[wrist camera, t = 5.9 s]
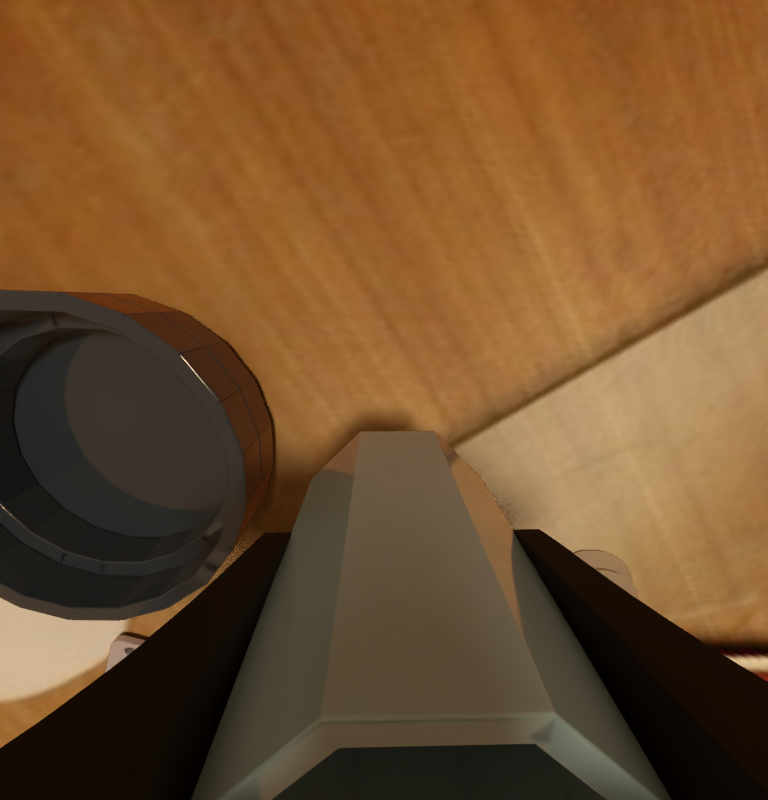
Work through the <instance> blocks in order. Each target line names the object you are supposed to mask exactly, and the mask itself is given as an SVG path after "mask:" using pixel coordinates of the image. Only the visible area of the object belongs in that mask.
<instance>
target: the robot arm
mask: <svg viewBox="0 0 768 800" xmlns="http://www.w3.org/2000/svg"><path fill="white" fill-rule="evenodd" d="M513 531H514V533H515V535H516V537H517V538H518V540H519V542H520V543H521V545H522V547H523V549H524V550H525V552H526V554H527V555H528V557H529V559H530V560H531V562H532V564H533V565H534V567H535V568H536V570H537V572H538V573H539V575H540V577H541V579H542V580H543V582H544V584H545V585H546V587H547V589H548V590H549V592H550V594H551V596H552V597H553V599H554V601H555V602H556V604H557V606H558V607H559V609H560V611H561V612H562V614H563V616H564V618H565V619H566V621H567V623H568V624H569V626H570V628H571V629H572V631H573V633H574V634H575V636H576V638H577V640H578V641H579V643H580V645H581V646H582V648H583V650H584V651H585V653H586V655H587V657H588V658H589V660H590V662H591V663H592V665H593V667H594V668H595V670H596V672H597V673H598V675H599V677H600V679H601V680H602V682H603V684H604V685H605V687H606V689H607V690H608V692H609V694H610V695H611V697H612V699H613V701H614V702H615V704H616V706H617V707H618V709H619V711H620V712H621V714H622V716H623V718H624V719H625V721H626V723H627V724H628V726H629V728H630V729H631V731H632V733H633V734H634V736H635V738H636V740H637V741H638V743H639V745H640V746H641V748H642V750H643V751H644V753H645V755H646V756H647V758H648V760H649V762H650V763H651V765H652V767H653V768H654V770H655V772H656V773H657V775H658V777H659V779H660V780H661V782H662V784H663V785H664V787H665V789H666V790H667V792H668V794H669V795H670V797H671V799H672V800H768V682H767V681H766V680H764V679H762V678H761V677H759V676H757V675H755V674H754V673H752V672H750V671H749V670H747V669H745V668H743V667H742V666H740V665H738V664H737V663H735V662H734V661H732V660H730V659H729V658H727V657H725V656H724V655H722V654H721V653H719V652H717V651H716V650H714V649H712V648H711V647H709V646H708V645H706V644H705V643H703V642H702V641H700V640H698V639H697V638H695V637H694V636H692V635H691V634H689V633H688V632H686V631H685V630H683V629H682V628H680V627H678V626H677V625H675V624H674V623H672V622H671V621H669V620H668V619H666V618H665V617H663V616H662V615H660V614H659V613H657V612H656V611H654V610H653V609H651V608H650V607H648V606H647V605H645V604H644V603H642V602H641V601H640V600H638V599H637V598H635V597H634V596H632V595H631V594H629V593H628V592H627V591H625V590H624V589H622V588H621V587H620V586H618V585H617V584H615V583H614V582H612V581H611V580H610V579H608V578H607V577H605V576H604V575H603V574H601V573H600V572H598V571H597V570H596V569H594V568H593V567H592V566H590V565H589V564H587V563H586V562H585V561H583V560H582V559H581V558H579V557H578V556H576V555H575V554H574V553H572V552H571V551H570V550H568V549H567V548H565V547H564V546H563V545H561V544H560V543H558V542H557V541H556V540H554V539H553V538H551V537H550V536H548V535H547V534H545V533H544V532H542V531H541V530H539V529H522V530H513ZM291 533H292V532H285V533H264V534H263V535H262V536H261V537H260V538H259V539H258V540H257V541H256V542H255V543H254V544H253V545H251V546H250V547H249V548H248V549H247V550H246V551H245V552H244V553H243V554H242V555H241V556H240V557H239V558H238V559H237V560H236V561H235V562H233V563H232V564H231V565H230V566H229V567H228V568H227V569H226V570H225V571H224V572H223V573H222V574H221V575H220V576H219V577H218V578H217V579H215V580H214V581H213V582H212V583H211V584H210V585H209V586H208V587H207V588H206V589H204V590H203V591H202V592H201V593H200V594H199V595H198V596H197V597H196V598H195V599H194V600H192V601H191V602H190V603H189V604H188V605H187V606H186V607H184V608H183V609H182V610H181V611H180V612H179V613H177V614H176V615H175V616H174V617H173V618H172V619H170V620H169V621H168V622H167V623H166V624H164V625H163V626H162V627H161V628H160V629H159V630H157V631H156V632H155V633H154V634H153V635H151V636H150V637H149V638H148V639H147V640H142V639H138V638H135V637H131V636H127V635H121V636H118V637H117V638H116V639H115V640H114V641H113V643H112V644H111V647H110V652H109V656H108V661H107V666H106V670H105V673H104V674H103V675H102V676H101V677H99V678H98V679H97V680H95V681H94V682H93V683H91V684H90V685H89V686H87V687H86V688H84V689H83V690H82V691H80V692H79V693H78V694H76V695H75V696H74V697H72V698H71V699H70V700H68V701H67V702H66V703H64V704H63V705H62V706H60V707H59V708H58V709H56V710H55V711H53V712H52V713H51V714H49V715H48V716H47V717H45V718H44V719H42V720H41V721H40V722H38V723H37V724H35V725H34V726H32V727H31V728H29V729H28V730H27V731H25V732H24V733H22V734H21V735H19V736H18V737H16V738H15V739H13V740H12V741H10V742H9V743H7V744H6V745H4V746H3V747H2V748H0V800H191V798H192V795H193V793H194V790H195V787H196V785H197V782H198V780H199V777H200V774H201V772H202V769H203V766H204V764H205V761H206V758H207V756H208V753H209V750H210V748H211V745H212V742H213V740H214V737H215V734H216V732H217V729H218V726H219V724H220V721H221V718H222V716H223V713H224V710H225V708H226V705H227V702H228V700H229V697H230V695H231V692H232V689H233V687H234V684H235V681H236V679H237V676H238V673H239V671H240V668H241V665H242V663H243V660H244V657H245V655H246V652H247V649H248V647H249V644H250V641H251V639H252V636H253V633H254V631H255V628H256V625H257V623H258V620H259V618H260V615H261V612H262V610H263V607H264V604H265V602H266V599H267V596H268V594H269V591H270V588H271V586H272V583H273V580H274V578H275V575H276V572H277V570H278V568H279V566H280V564H281V561H282V558H283V556H284V553H285V550H286V548H287V545H288V542H289V540H290V537H291Z"/></svg>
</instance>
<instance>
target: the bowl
mask: <svg viewBox="0 0 768 800" xmlns="http://www.w3.org/2000/svg"><path fill="white" fill-rule="evenodd" d="M272 467H273V446H272V426H271V420H270V417H269V415H268V412H267V409H266V407H265V404H264V402H263V399H262V397H261V394H260V391H259V389H258V386H257V384H256V381H254V378H253V377H252V376H251V374H250V373H249V372H248V371H247V369H246V368H245V367H244V365H243V364H242V363H241V362H240V360H239V359H238V358H237V357H236V355H235V354H234V353H233V352H232V350H231V349H230V348H229V346H228V345H227V344H226V343H225V342H224V341H223V340H222V339H220V338H219V337H217V336H216V335H215V334H213V333H212V332H210V331H209V330H208V329H206V328H205V327H203V326H202V325H201V324H199V323H198V322H196V321H195V320H194V319H192V318H191V317H189V316H188V315H187V314H185V313H184V312H182V311H180V310H177V309H174V308H171V307H168V306H165V305H163V304H160V303H157V302H154V301H151V300H148V299H145V298H143V297H140V296H137V295H133V294H111V293H82V292H53V291H23V290H0V598H2V599H4V600H6V601H8V602H10V603H12V604H14V605H16V606H18V607H21V608H24V609H28V610H32V611H36V612H40V613H44V614H48V615H52V616H56V617H60V618H63V619H67V620H70V619H71V620H118V621H119V620H125V619H129V618H133V617H137V616H141V615H144V614H148V613H152V612H156V611H160V610H164V609H166V608H169V607H171V606H172V605H174V604H175V603H177V602H179V601H180V600H182V599H183V598H185V597H187V596H188V595H190V594H191V593H193V592H195V591H196V590H198V589H199V588H201V587H203V586H204V585H206V584H207V583H208V582H209V580H210V579H211V578H212V577H213V575H214V574H215V573H216V571H217V570H218V569H219V568H220V566H221V565H222V564H223V562H224V561H225V560H226V559H227V557H228V556H229V555H230V553H231V552H232V551H233V550H234V548H235V546H236V544H237V543H238V541H239V539H240V538H241V536H242V534H243V532H244V531H245V529H246V527H247V526H248V524H249V522H250V520H251V519H252V517H253V515H254V514H255V512H256V510H257V508H258V507H259V505H260V503H261V501H262V500H263V496H264V493H265V490H266V487H267V483H268V480H269V477H270V474H271V471H272Z"/></svg>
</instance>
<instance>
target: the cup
mask: <svg viewBox="0 0 768 800" xmlns="http://www.w3.org/2000/svg"><path fill="white" fill-rule="evenodd" d="M191 800H672V799H671V797H670V795H669V794H668V792H667V790H666V789H665V787H664V785H663V784H662V782H661V780H660V779H659V777H658V775H657V773H656V772H655V770H654V768H653V767H652V765H651V763H650V762H649V760H648V758H647V756H646V755H645V753H644V751H643V750H642V748H641V746H640V745H639V743H638V741H637V740H636V738H635V736H634V734H633V733H632V731H631V729H630V728H629V726H628V724H627V723H626V721H625V719H624V718H623V716H622V714H621V712H620V711H619V709H618V707H617V706H616V704H615V702H614V701H613V699H612V697H611V695H610V694H609V692H608V690H607V689H606V687H605V685H604V684H603V682H602V680H601V679H600V677H599V675H598V673H597V672H596V670H595V668H594V667H593V665H592V663H591V662H590V660H589V658H588V657H587V655H586V653H585V651H584V650H583V648H582V646H581V645H580V643H579V641H578V640H577V638H576V636H575V634H574V633H573V631H572V629H571V628H570V626H569V624H568V623H567V621H566V619H565V618H564V616H563V614H562V612H561V611H560V609H559V607H558V606H557V604H556V602H555V601H554V599H553V597H552V596H551V594H550V592H549V590H548V589H547V587H546V585H545V584H544V582H543V580H542V579H541V577H540V575H539V573H538V572H537V570H536V568H535V567H534V565H533V564H532V562H531V560H530V559H529V557H528V555H527V554H526V552H525V550H524V549H523V547H522V545H521V543H520V542H519V540H518V538H517V537H516V535H515V533H514V531H513V529H512V528H511V526H510V524H509V523H508V521H507V519H506V518H505V516H504V514H503V512H502V511H501V509H500V507H499V506H498V504H497V502H496V501H495V499H494V497H493V496H492V494H491V492H490V490H489V489H488V487H487V485H486V484H485V482H484V480H483V479H482V477H481V476H480V475H479V474H478V473H477V472H476V471H475V470H474V469H473V468H472V467H471V466H470V465H469V464H468V463H467V462H465V461H464V460H463V459H462V458H461V457H460V456H459V455H458V454H457V453H456V452H455V451H454V450H453V449H452V448H451V447H450V446H449V445H448V444H447V443H446V442H445V441H444V440H443V439H442V438H441V437H440V436H439V435H438V434H437V433H435V432H434V431H362V432H359V433H358V434H357V435H356V436H355V437H354V438H353V439H352V440H351V441H350V442H349V443H348V444H347V445H346V446H345V447H344V448H343V449H342V450H341V451H340V452H339V453H338V454H337V455H336V456H335V457H334V458H333V459H332V460H331V461H330V462H329V463H328V464H327V465H326V466H324V467H323V468H322V469H321V470H320V471H319V472H318V473H317V474H316V475H315V476H314V477H313V478H312V479H311V482H310V485H309V487H308V490H307V493H306V495H305V498H304V501H303V503H302V506H301V509H300V511H299V514H298V517H297V519H296V522H295V525H294V527H293V530H292V533H291V537H290V540H289V542H288V545H287V548H286V550H285V553H284V556H283V558H282V561H281V564H280V566H279V568H278V570H277V572H276V575H275V578H274V580H273V583H272V586H271V588H270V591H269V594H268V596H267V599H266V602H265V604H264V607H263V610H262V612H261V615H260V618H259V620H258V623H257V625H256V628H255V631H254V633H253V636H252V639H251V641H250V644H249V647H248V649H247V652H246V655H245V657H244V660H243V663H242V665H241V668H240V671H239V673H238V676H237V679H236V681H235V684H234V687H233V689H232V692H231V695H230V697H229V700H228V702H227V705H226V708H225V710H224V713H223V716H222V718H221V721H220V724H219V726H218V729H217V732H216V734H215V737H214V740H213V742H212V745H211V748H210V750H209V753H208V756H207V758H206V761H205V764H204V766H203V769H202V772H201V774H200V777H199V780H198V782H197V785H196V787H195V790H194V793H193V795H192V798H191Z"/></svg>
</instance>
